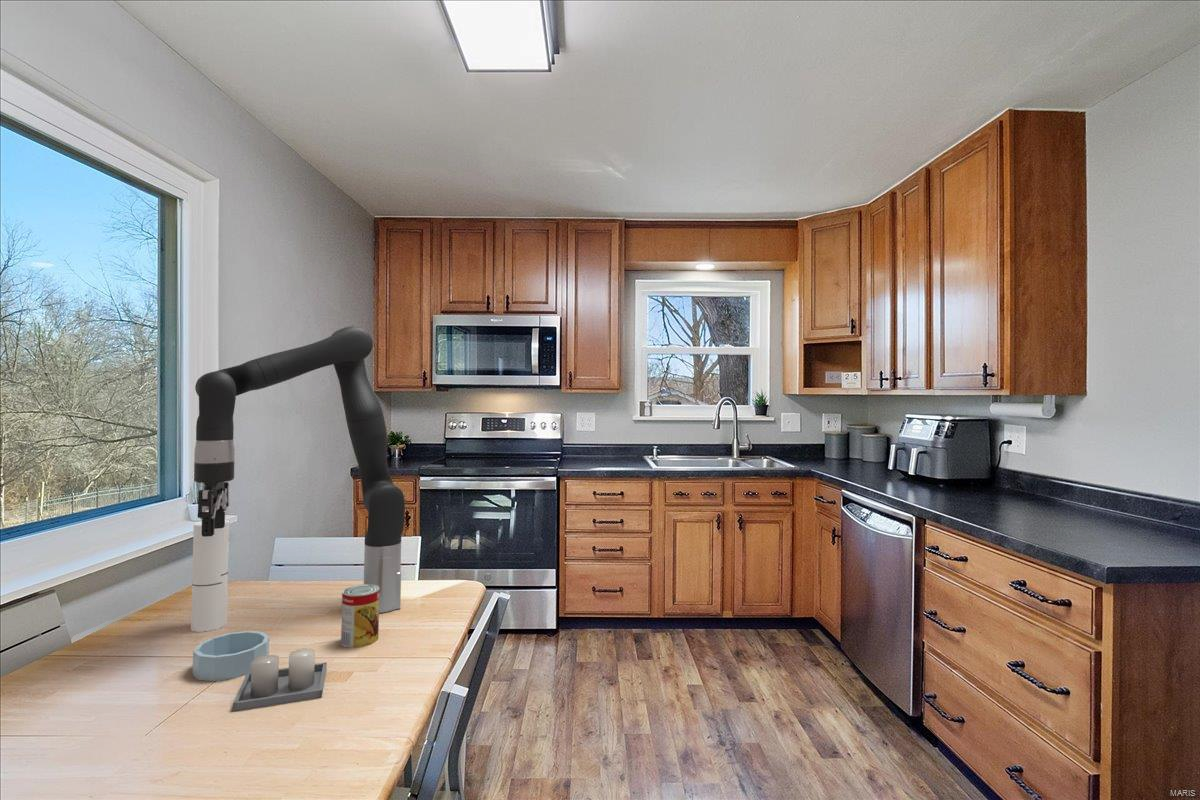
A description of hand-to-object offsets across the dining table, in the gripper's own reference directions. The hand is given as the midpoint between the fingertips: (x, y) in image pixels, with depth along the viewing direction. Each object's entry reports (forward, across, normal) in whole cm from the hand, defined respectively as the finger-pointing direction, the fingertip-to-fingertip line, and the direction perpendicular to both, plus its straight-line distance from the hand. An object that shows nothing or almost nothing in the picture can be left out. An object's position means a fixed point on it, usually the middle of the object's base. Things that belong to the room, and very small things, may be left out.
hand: (213, 531), depth 128 cm
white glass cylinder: (+25, -28, -22) cm, 43 cm away
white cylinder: (+24, -30, -16) cm, 42 cm away
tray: (+25, -29, -19) cm, 43 cm away
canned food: (+26, -10, -31) cm, 41 cm away
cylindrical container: (+25, +11, +4) cm, 28 cm away
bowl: (+25, -15, -7) cm, 30 cm away
